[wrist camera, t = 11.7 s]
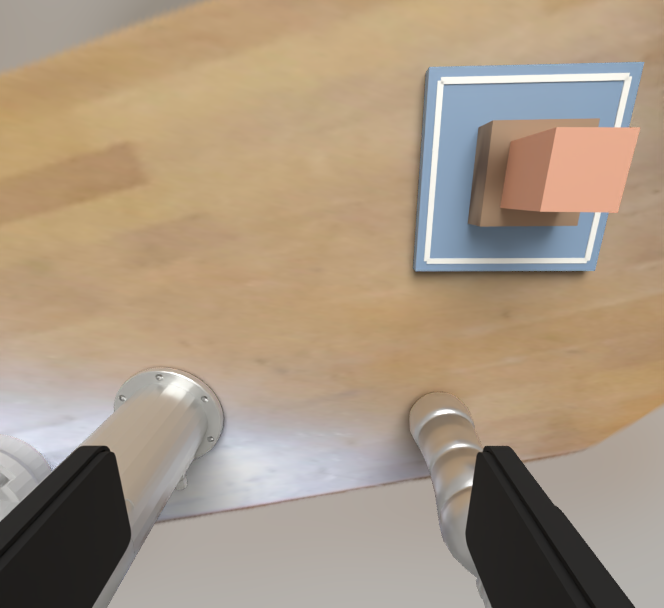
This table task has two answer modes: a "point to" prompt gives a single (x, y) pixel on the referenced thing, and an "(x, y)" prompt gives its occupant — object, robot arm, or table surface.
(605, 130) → the terracotta block
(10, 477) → the flag stand
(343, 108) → the table surface
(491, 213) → the walnut base
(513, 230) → the blueprint board
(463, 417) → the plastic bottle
